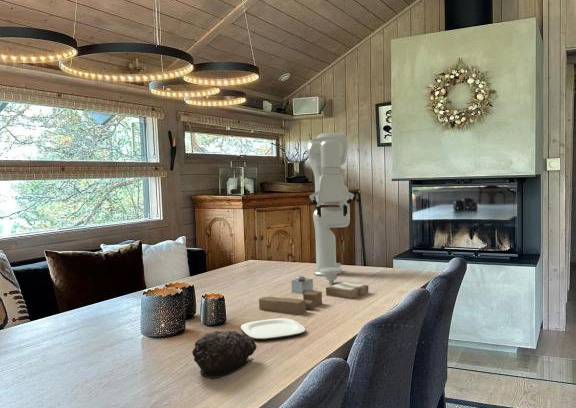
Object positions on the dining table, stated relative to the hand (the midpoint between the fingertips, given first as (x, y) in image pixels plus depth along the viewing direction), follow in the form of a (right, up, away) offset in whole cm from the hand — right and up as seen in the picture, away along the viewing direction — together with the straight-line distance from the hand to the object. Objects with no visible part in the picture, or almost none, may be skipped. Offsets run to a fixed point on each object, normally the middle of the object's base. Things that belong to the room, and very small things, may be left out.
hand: (332, 216), depth 200 cm
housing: (-11, -31, +10) cm, 35 cm away
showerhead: (+2, -30, +24) cm, 39 cm away
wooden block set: (-16, -33, -13) cm, 39 cm away
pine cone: (-33, -36, -71) cm, 86 cm away
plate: (-22, -35, -42) cm, 59 cm away
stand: (+6, -31, +3) cm, 32 cm away
